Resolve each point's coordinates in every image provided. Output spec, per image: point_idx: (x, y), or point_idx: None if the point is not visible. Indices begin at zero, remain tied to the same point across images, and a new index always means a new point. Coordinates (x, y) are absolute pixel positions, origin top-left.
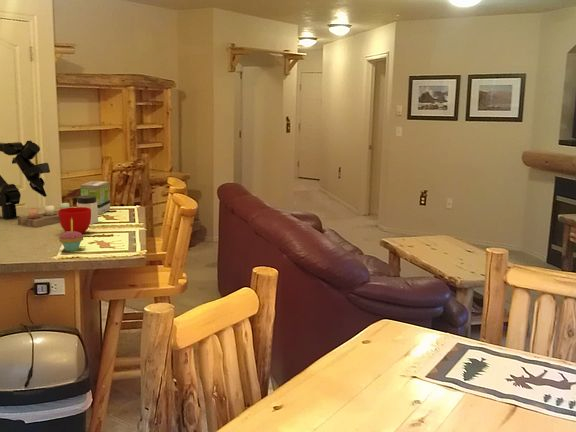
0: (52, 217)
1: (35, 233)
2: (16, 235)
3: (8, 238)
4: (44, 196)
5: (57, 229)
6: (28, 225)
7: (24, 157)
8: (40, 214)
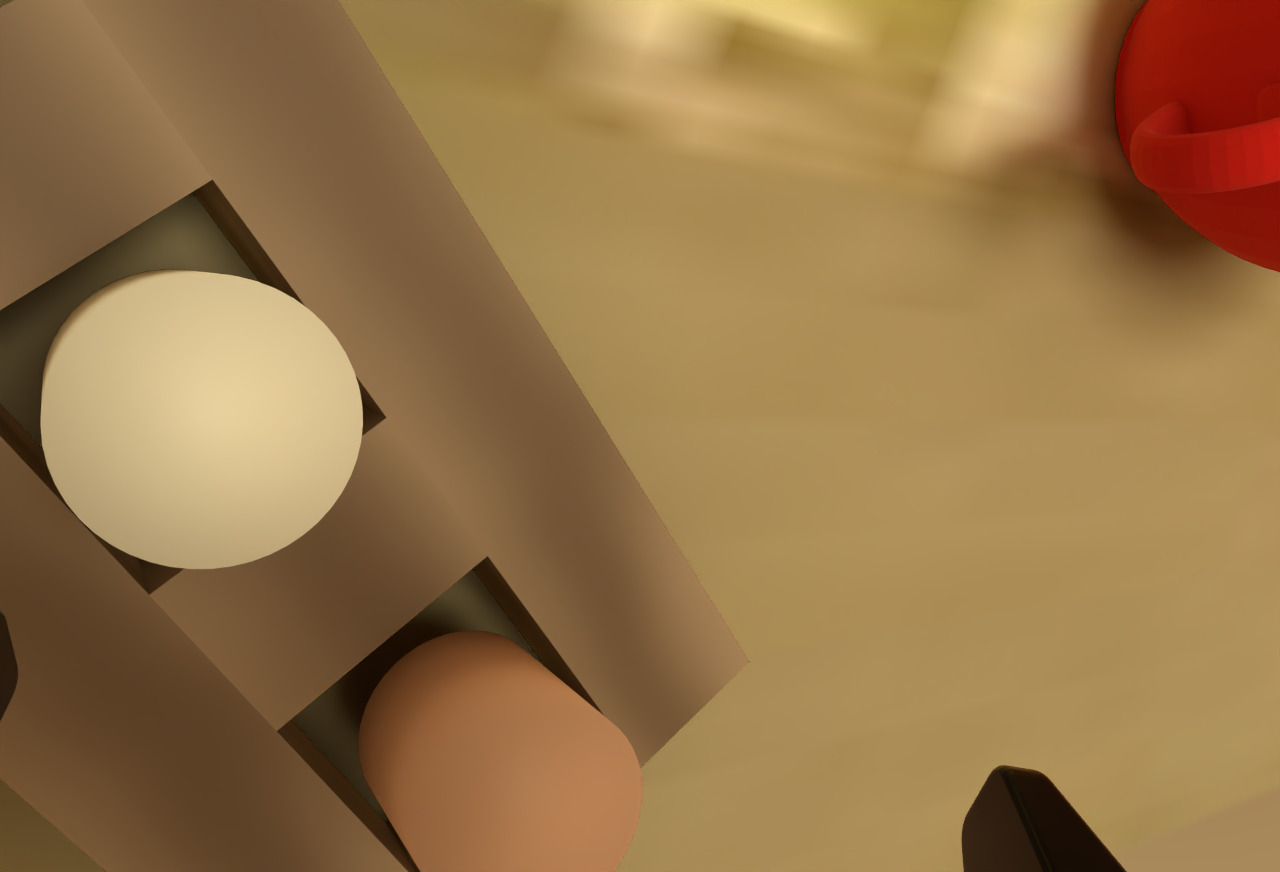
0: (552, 346)
1: (1000, 577)
2: None
3: None
4: (10, 694)
5: (913, 293)
6: None
7: None
8: None
